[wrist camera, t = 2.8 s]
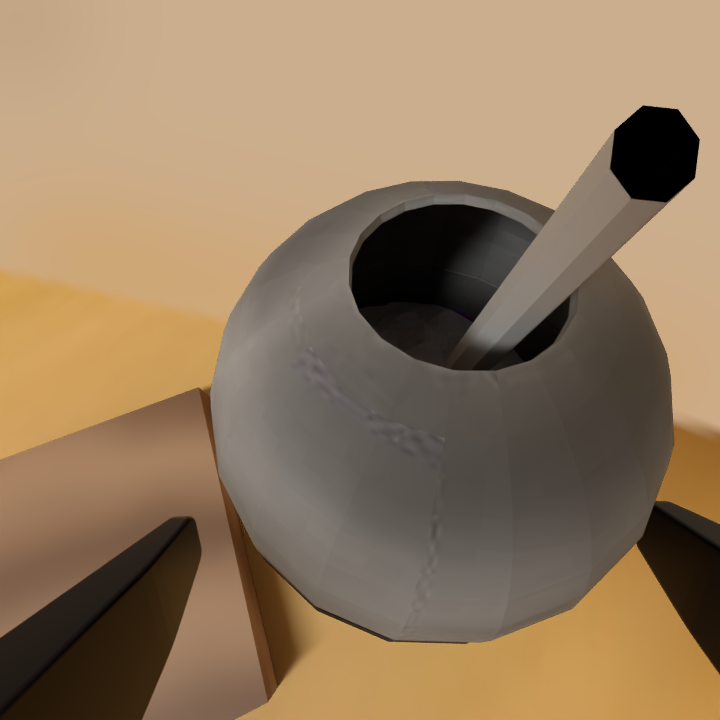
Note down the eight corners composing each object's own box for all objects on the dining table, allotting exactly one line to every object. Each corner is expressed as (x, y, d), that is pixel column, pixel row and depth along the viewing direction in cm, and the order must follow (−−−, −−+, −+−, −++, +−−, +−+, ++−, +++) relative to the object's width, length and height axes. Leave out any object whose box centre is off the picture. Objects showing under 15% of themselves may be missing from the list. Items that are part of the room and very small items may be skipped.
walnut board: (277, 687, 14) (267, 701, 13) (-2, 830, 12) (-47, 865, 11) (210, 398, 20) (198, 387, 18) (13, 471, 18) (-16, 465, 17)
